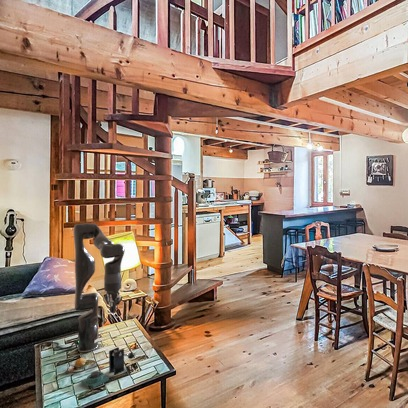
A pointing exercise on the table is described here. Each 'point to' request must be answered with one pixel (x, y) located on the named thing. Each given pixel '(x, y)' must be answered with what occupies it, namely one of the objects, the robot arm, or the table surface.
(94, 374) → the button
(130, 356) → the lever
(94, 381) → the button box
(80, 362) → the burger
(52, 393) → the table surface
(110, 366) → the bracket
